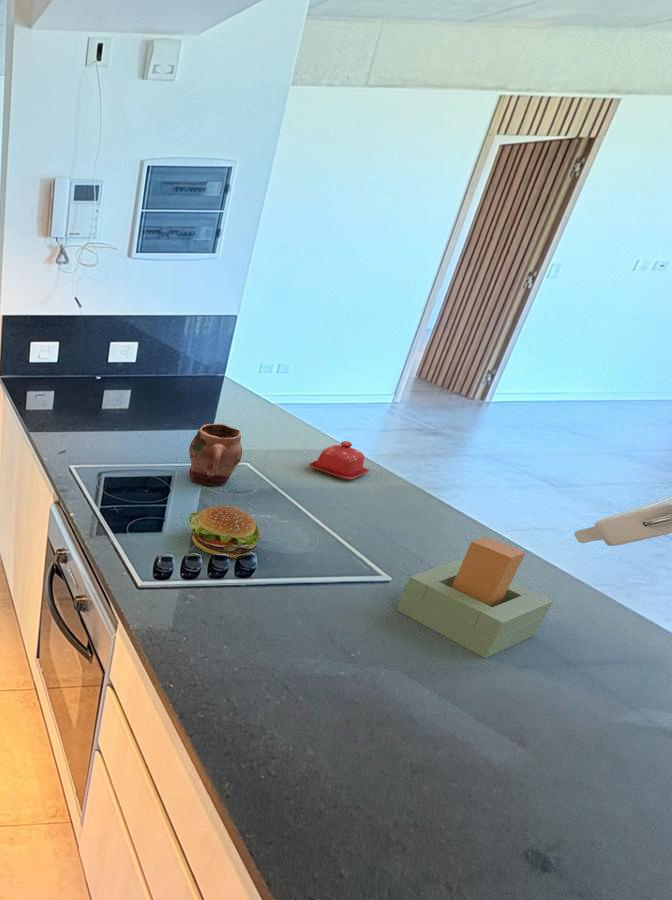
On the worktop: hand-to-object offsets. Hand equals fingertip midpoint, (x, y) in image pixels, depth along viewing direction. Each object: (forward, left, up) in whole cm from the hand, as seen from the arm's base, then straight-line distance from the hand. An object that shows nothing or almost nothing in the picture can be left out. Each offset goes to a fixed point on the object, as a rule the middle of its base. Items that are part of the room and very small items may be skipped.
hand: (598, 529), depth 88 cm
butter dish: (+62, -38, -22) cm, 76 cm away
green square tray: (+9, +2, -22) cm, 24 cm away
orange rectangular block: (+9, +2, -18) cm, 20 cm away
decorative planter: (+71, -2, -22) cm, 75 cm away
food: (+46, +20, -22) cm, 55 cm away
